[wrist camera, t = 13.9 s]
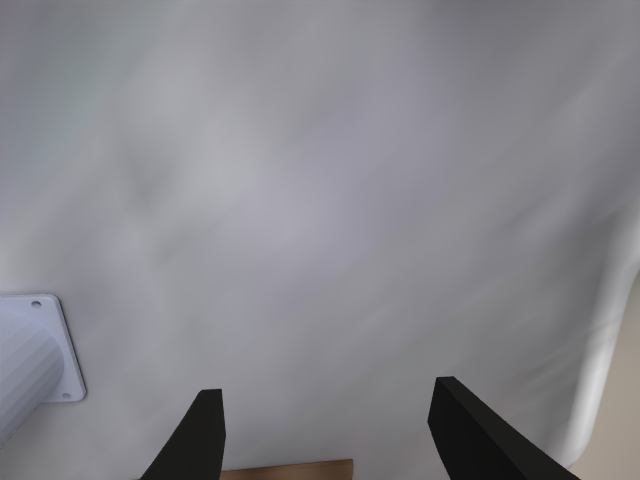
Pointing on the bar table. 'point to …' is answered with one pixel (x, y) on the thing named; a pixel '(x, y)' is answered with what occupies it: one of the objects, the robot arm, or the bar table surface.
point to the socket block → (296, 472)
